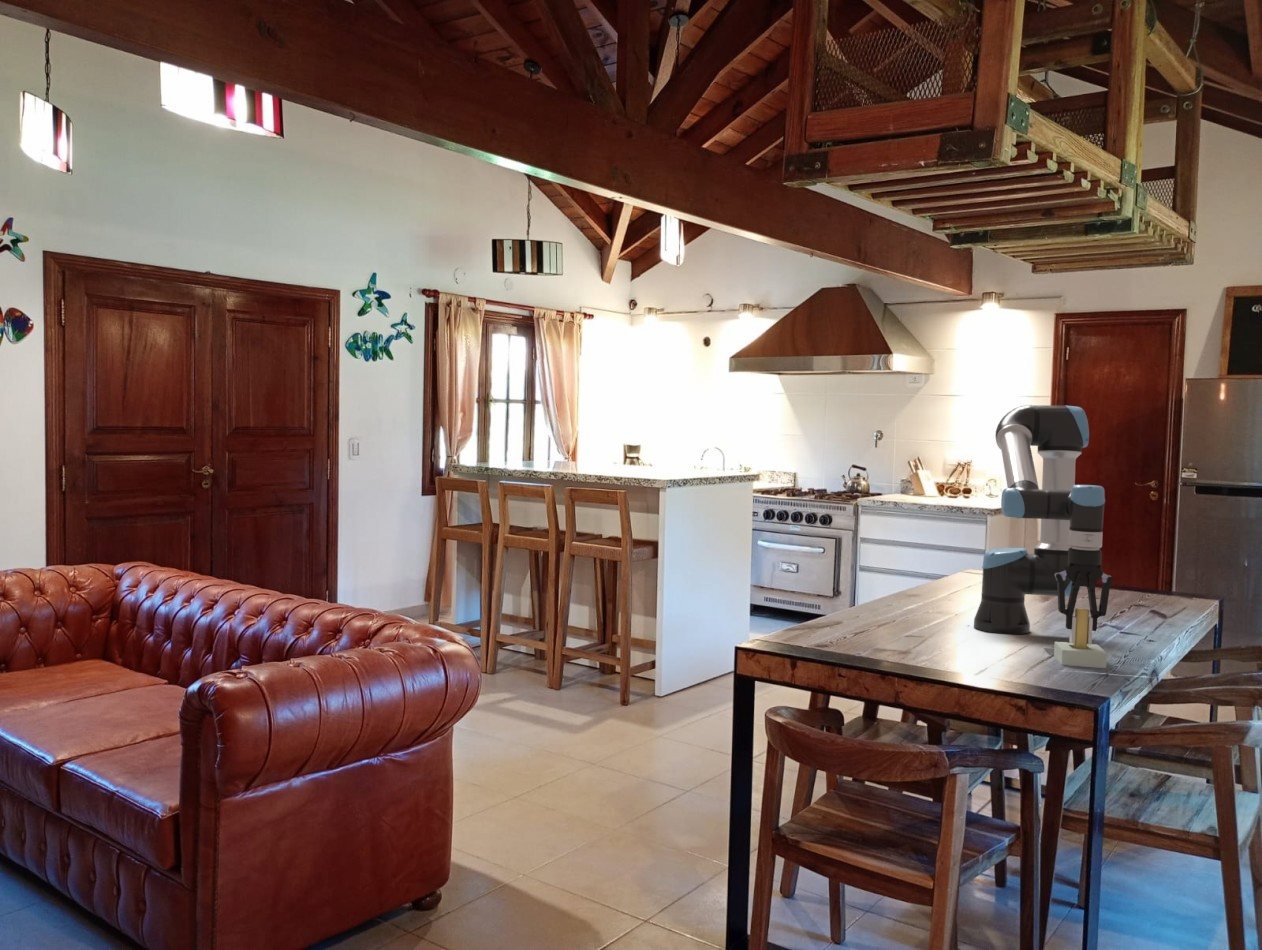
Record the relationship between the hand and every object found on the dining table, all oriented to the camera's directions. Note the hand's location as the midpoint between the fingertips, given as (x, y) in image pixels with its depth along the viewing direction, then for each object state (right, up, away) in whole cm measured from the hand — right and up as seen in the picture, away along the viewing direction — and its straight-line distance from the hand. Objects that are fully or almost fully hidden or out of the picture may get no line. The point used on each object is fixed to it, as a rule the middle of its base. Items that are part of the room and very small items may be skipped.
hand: (1080, 642), depth 247 cm
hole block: (0, -5, 0) cm, 5 cm away
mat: (+2, -5, +10) cm, 11 cm away
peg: (0, -4, 0) cm, 4 cm away
